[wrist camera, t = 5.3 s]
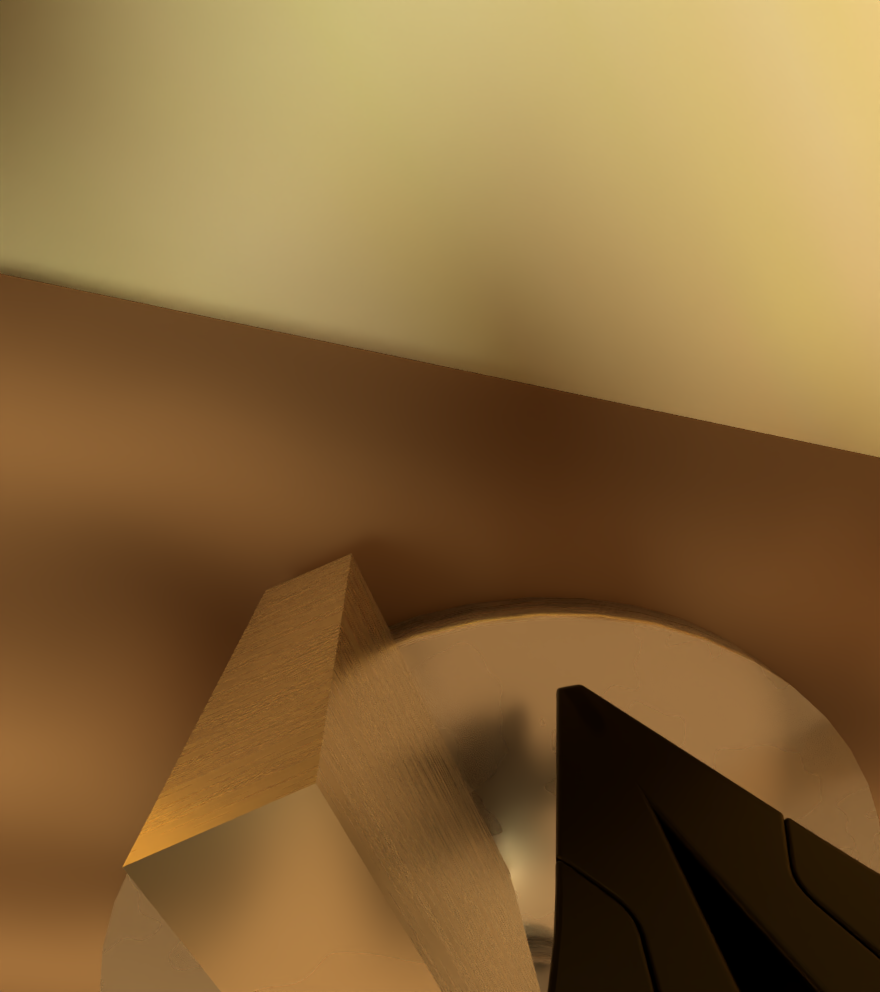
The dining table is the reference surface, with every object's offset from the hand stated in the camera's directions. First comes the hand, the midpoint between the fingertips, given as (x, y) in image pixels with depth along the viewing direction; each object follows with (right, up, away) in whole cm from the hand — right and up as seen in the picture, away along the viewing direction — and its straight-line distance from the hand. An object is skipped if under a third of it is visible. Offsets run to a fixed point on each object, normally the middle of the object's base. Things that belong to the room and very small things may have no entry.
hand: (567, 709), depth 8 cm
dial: (0, -7, +4) cm, 9 cm away
